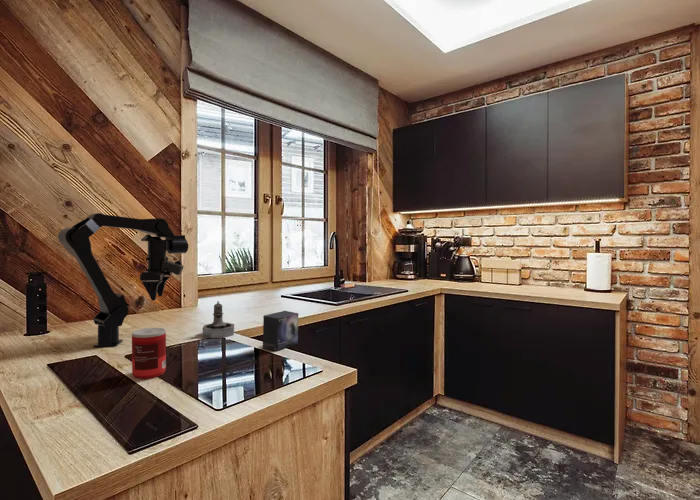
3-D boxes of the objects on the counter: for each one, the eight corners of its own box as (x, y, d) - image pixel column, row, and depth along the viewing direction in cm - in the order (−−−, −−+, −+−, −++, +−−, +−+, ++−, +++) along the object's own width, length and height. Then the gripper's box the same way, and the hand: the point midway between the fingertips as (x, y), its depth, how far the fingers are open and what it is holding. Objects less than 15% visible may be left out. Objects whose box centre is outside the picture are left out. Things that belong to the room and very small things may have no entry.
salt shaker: (216, 337, 133) (216, 303, 133) (205, 334, 136) (205, 301, 136) (230, 333, 138) (230, 300, 138) (219, 331, 141) (219, 299, 141)
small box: (277, 351, 117) (277, 317, 117) (261, 348, 121) (261, 315, 120) (299, 343, 126) (299, 312, 126) (284, 340, 130) (284, 310, 129)
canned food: (157, 366, 103) (157, 326, 102) (171, 373, 98) (171, 330, 97) (126, 374, 97) (126, 331, 96) (140, 382, 92) (139, 336, 91)
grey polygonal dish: (232, 337, 133) (232, 328, 133) (201, 338, 131) (201, 330, 131) (234, 330, 143) (234, 322, 143) (205, 331, 141) (205, 323, 141)
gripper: (176, 255, 127) (176, 302, 128) (186, 253, 145) (186, 293, 146) (139, 255, 125) (139, 303, 125) (154, 252, 143) (154, 294, 143)
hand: (157, 298), depth 135 cm, fingers open, 9 cm apart
